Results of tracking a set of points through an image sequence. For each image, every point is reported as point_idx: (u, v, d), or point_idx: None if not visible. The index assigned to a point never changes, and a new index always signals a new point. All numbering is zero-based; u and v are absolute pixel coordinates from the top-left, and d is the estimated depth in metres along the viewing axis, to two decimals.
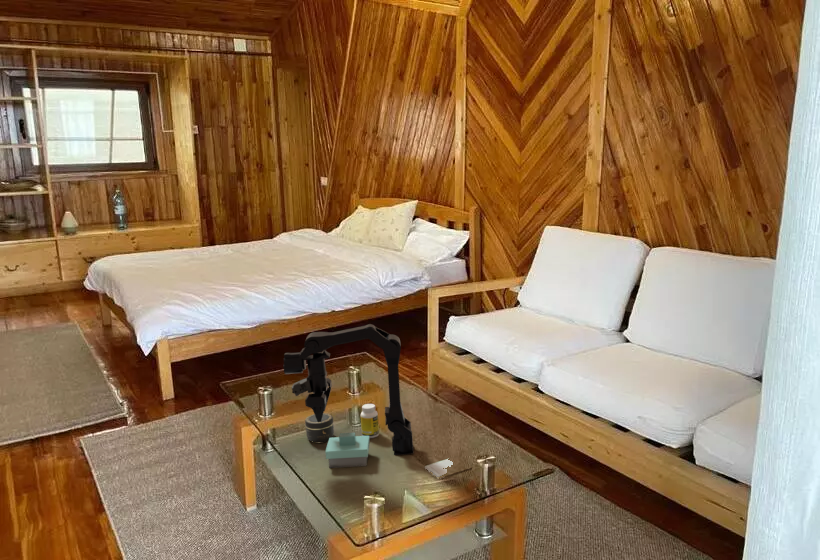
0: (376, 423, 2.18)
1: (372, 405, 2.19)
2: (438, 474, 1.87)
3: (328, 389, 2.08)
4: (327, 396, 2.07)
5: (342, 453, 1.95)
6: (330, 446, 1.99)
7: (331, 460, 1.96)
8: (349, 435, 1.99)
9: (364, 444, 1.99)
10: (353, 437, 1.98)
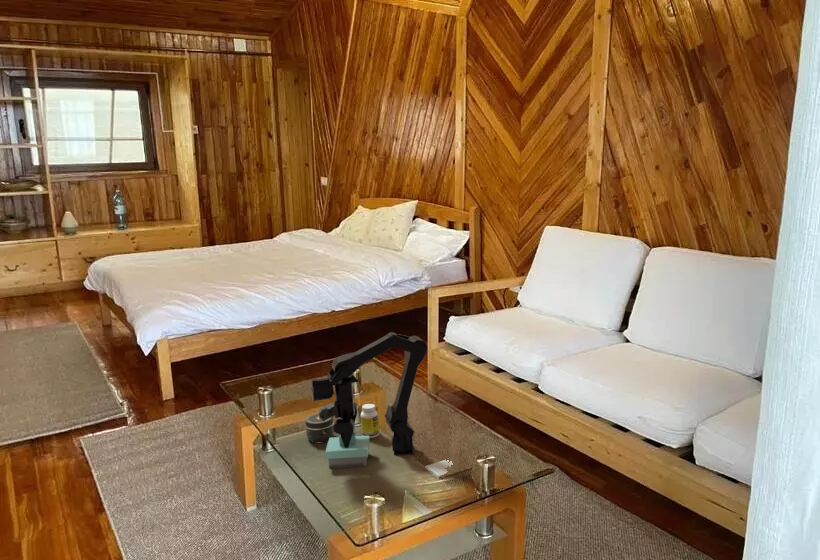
0: (376, 423, 2.18)
1: (372, 405, 2.19)
2: (438, 474, 1.87)
3: (354, 413, 2.05)
4: (353, 420, 2.04)
5: (342, 453, 1.95)
6: (330, 446, 1.99)
7: (331, 460, 1.96)
8: None
9: (364, 444, 1.99)
10: (353, 437, 1.98)
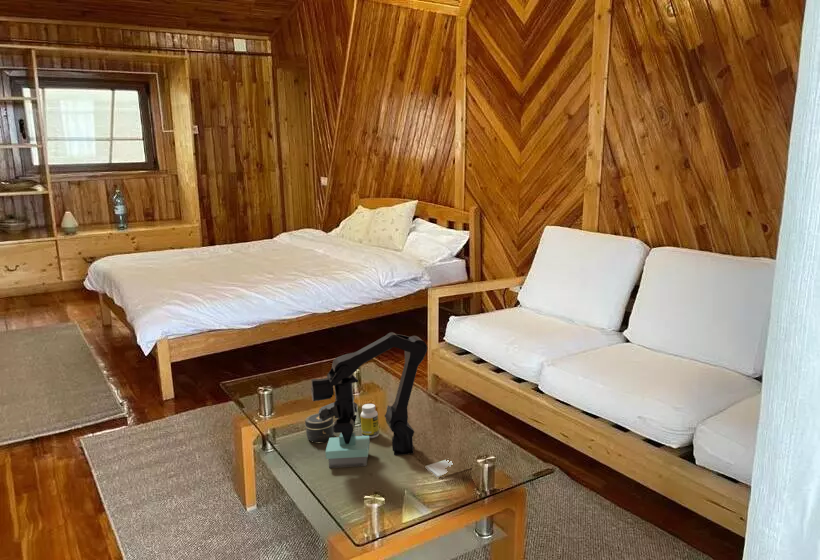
0: (376, 423, 2.18)
1: (372, 405, 2.19)
2: (438, 474, 1.87)
3: (353, 417, 2.02)
4: None
5: (342, 453, 1.95)
6: (330, 446, 1.99)
7: (331, 460, 1.96)
8: None
9: (364, 444, 1.99)
10: (353, 437, 1.98)
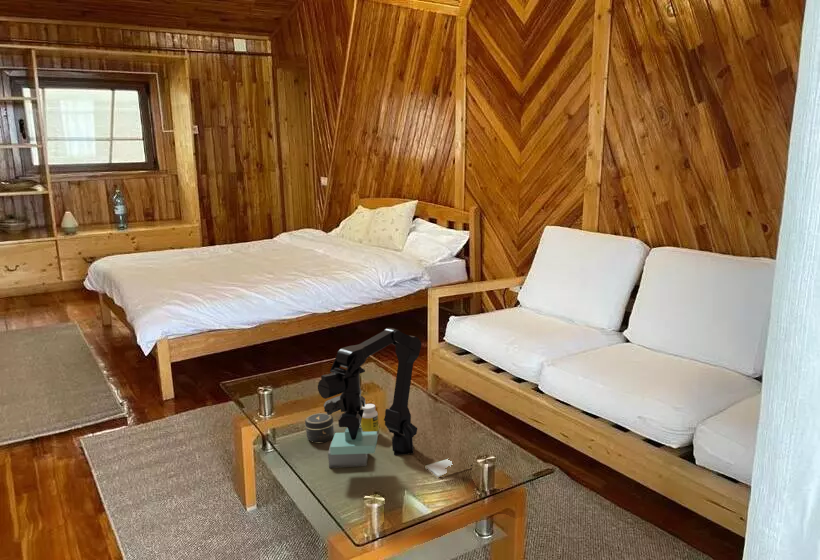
0: (376, 423, 2.18)
1: (372, 405, 2.19)
2: (438, 474, 1.87)
3: (361, 411, 1.92)
4: None
5: (347, 449, 1.85)
6: (335, 441, 1.89)
7: (331, 460, 1.96)
8: None
9: (371, 440, 1.89)
10: (359, 432, 1.88)
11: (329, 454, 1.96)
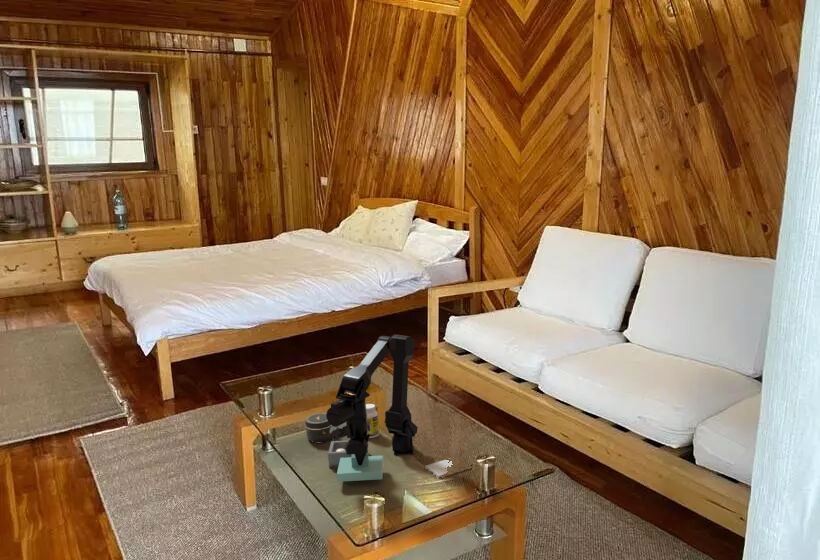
0: (376, 423, 2.18)
1: (372, 405, 2.19)
2: (438, 473, 1.87)
3: (366, 436, 1.90)
4: None
5: (355, 475, 1.83)
6: (342, 468, 1.86)
7: (331, 460, 1.96)
8: None
9: (378, 465, 1.86)
10: (366, 458, 1.86)
11: (329, 454, 1.96)
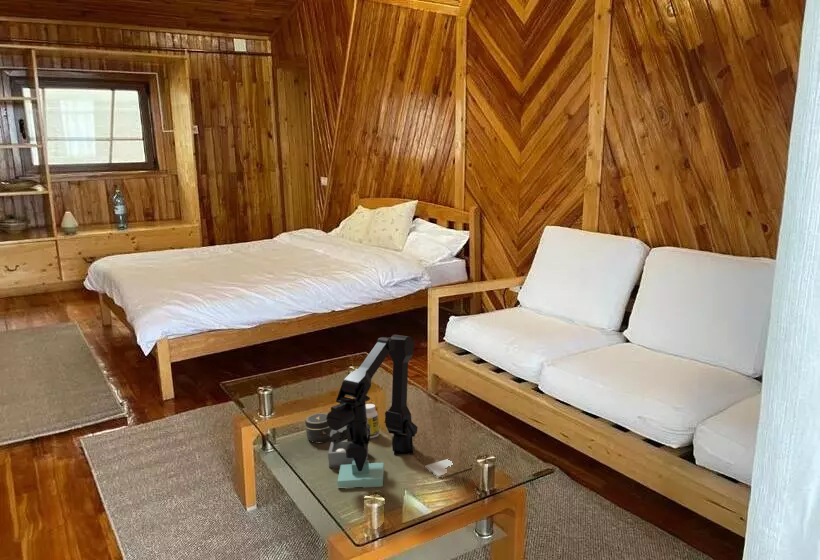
0: (376, 423, 2.18)
1: (372, 405, 2.19)
2: (438, 474, 1.87)
3: None
4: None
5: (355, 483, 1.83)
6: (342, 475, 1.86)
7: (331, 460, 1.96)
8: None
9: (378, 472, 1.87)
10: (367, 465, 1.86)
11: (329, 454, 1.96)
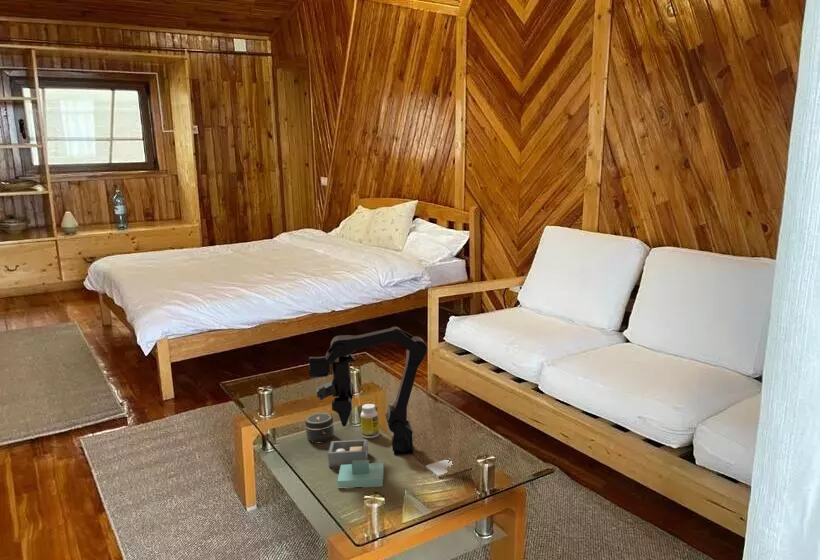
0: (376, 423, 2.18)
1: (372, 405, 2.19)
2: (438, 473, 1.87)
3: None
4: None
5: (355, 483, 1.83)
6: (342, 475, 1.86)
7: (331, 460, 1.96)
8: (362, 463, 1.87)
9: (378, 472, 1.87)
10: (367, 465, 1.86)
11: (329, 454, 1.96)
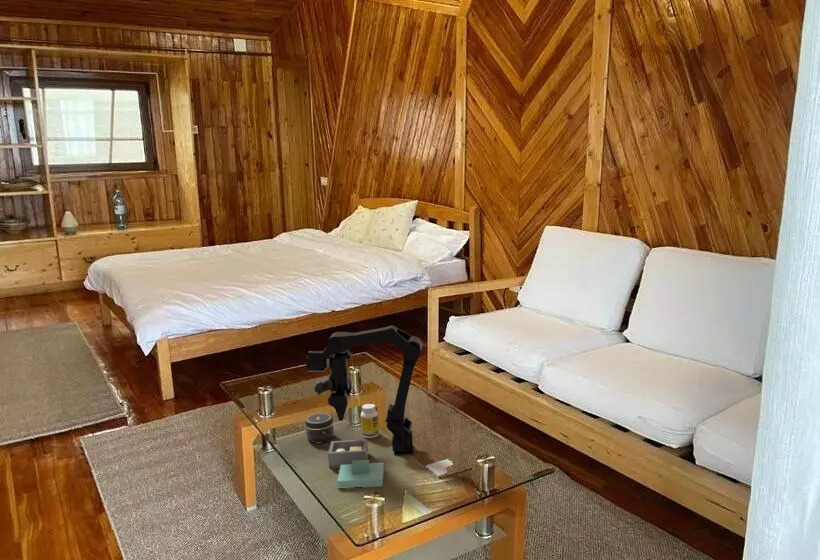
0: (376, 423, 2.18)
1: (372, 405, 2.19)
2: (438, 473, 1.87)
3: (349, 388, 2.11)
4: (348, 395, 2.10)
5: (355, 483, 1.83)
6: (342, 475, 1.86)
7: (331, 460, 1.96)
8: (362, 463, 1.87)
9: (378, 472, 1.87)
10: (367, 465, 1.86)
11: (329, 454, 1.96)
